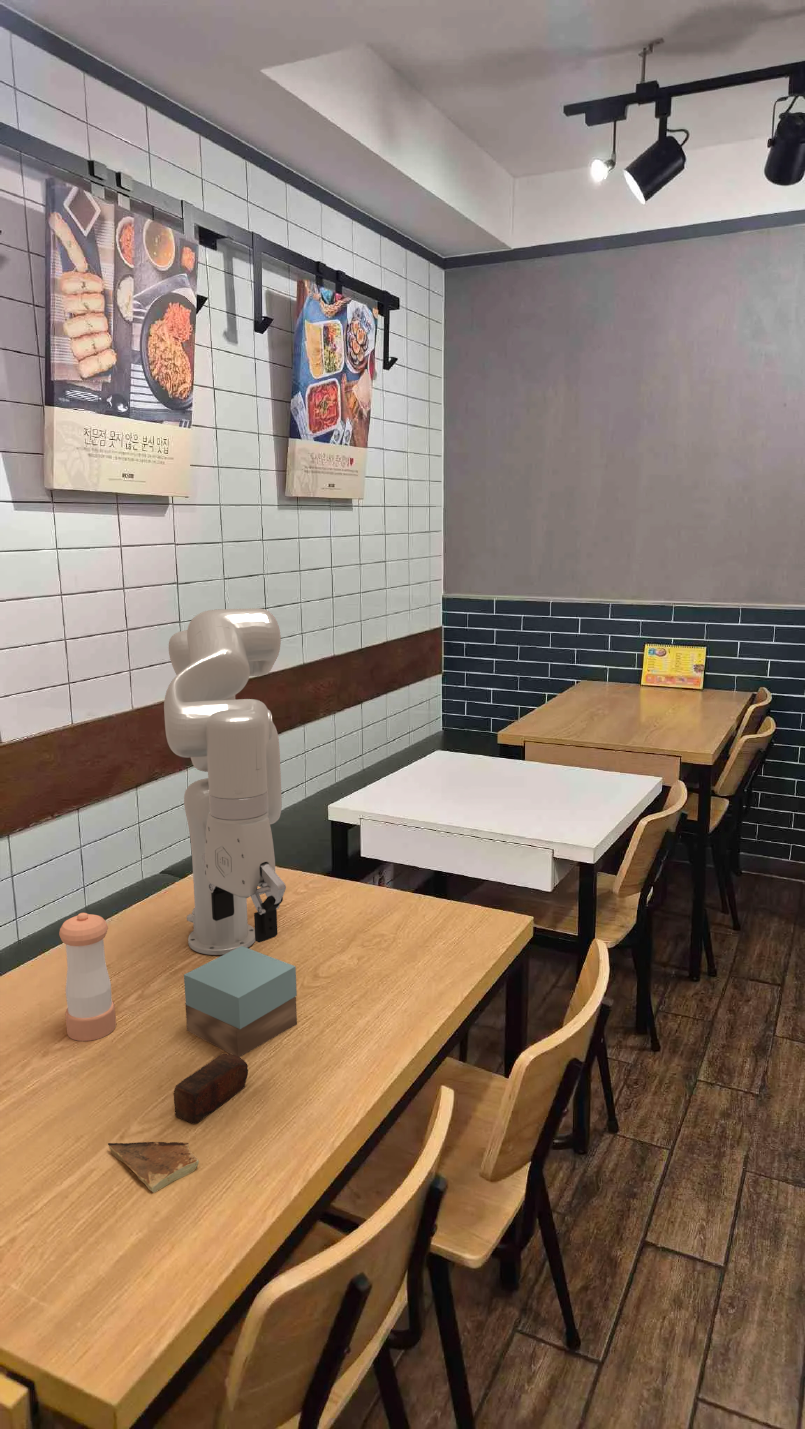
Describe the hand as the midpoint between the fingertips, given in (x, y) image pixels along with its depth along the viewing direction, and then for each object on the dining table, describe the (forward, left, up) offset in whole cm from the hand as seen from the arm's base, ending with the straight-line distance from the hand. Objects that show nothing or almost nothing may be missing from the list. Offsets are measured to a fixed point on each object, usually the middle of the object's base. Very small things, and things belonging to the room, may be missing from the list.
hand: (244, 927), depth 124 cm
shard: (+3, -19, -25) cm, 31 cm away
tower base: (-13, +10, -24) cm, 30 cm away
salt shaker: (-31, -5, -24) cm, 40 cm away
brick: (-2, -5, -24) cm, 25 cm away
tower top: (-13, +10, -19) cm, 26 cm away
